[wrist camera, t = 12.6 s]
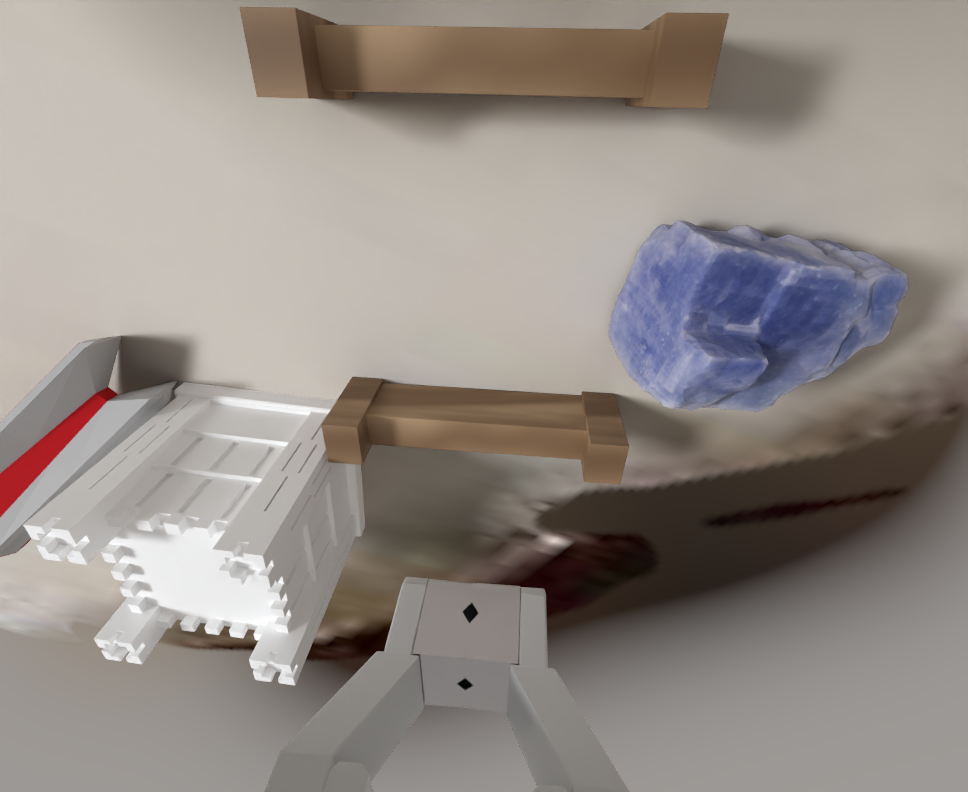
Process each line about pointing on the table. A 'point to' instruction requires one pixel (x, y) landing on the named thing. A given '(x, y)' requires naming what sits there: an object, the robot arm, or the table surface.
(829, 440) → the table surface
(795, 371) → the mineral
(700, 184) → the table surface
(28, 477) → the toy gun
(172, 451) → the castle model
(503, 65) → the wooden brackets
